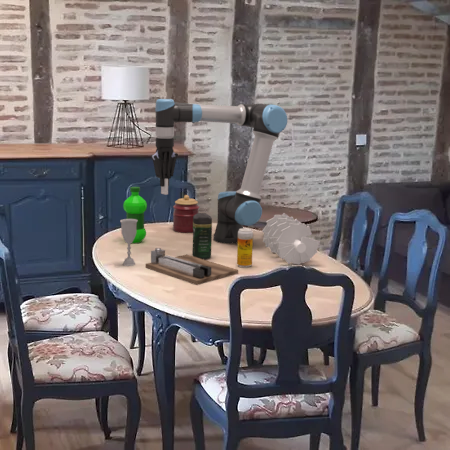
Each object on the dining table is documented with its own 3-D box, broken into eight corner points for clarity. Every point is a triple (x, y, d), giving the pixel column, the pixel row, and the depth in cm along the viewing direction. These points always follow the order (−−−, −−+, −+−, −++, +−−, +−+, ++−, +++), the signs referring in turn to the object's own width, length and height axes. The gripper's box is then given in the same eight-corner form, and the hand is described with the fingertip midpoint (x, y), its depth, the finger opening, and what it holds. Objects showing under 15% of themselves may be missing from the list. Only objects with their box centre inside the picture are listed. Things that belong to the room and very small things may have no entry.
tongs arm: (163, 263, 274) (163, 256, 273) (167, 262, 275) (167, 255, 275) (207, 276, 259) (207, 268, 258) (211, 275, 260) (211, 267, 259)
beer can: (241, 268, 276) (242, 232, 273) (234, 264, 281) (235, 228, 278) (254, 266, 279) (255, 230, 276) (247, 262, 284) (248, 227, 281)
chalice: (129, 267, 274) (129, 223, 270) (116, 264, 277) (116, 221, 273) (141, 263, 280) (141, 220, 276) (128, 260, 283) (128, 218, 279)
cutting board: (186, 257, 290) (186, 254, 289) (238, 273, 269) (238, 269, 269) (145, 267, 274) (145, 263, 274) (196, 284, 254) (196, 280, 253)
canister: (199, 233, 333) (199, 197, 329) (172, 233, 333) (172, 197, 329) (199, 227, 346) (200, 192, 342) (173, 227, 345) (173, 192, 342)
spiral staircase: (289, 276, 281) (268, 257, 304) (326, 256, 283) (302, 239, 306) (273, 238, 274) (253, 222, 297) (311, 218, 277) (288, 203, 300)
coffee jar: (212, 259, 288) (213, 216, 284) (193, 260, 286) (194, 216, 282) (209, 253, 297) (210, 211, 293) (191, 254, 296) (191, 211, 292)
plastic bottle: (147, 244, 311) (147, 189, 305) (123, 244, 309) (123, 189, 304) (146, 238, 321) (146, 185, 315) (123, 239, 319) (123, 185, 313)
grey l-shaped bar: (151, 263, 275) (151, 248, 274) (160, 260, 279) (160, 247, 277) (199, 279, 256) (200, 264, 255) (209, 276, 259) (209, 261, 258)
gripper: (170, 135, 290) (170, 191, 295) (146, 137, 280) (146, 194, 286) (182, 137, 284) (182, 193, 290) (158, 138, 275) (158, 197, 281)
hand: (164, 193), depth 288 cm, fingers closed
